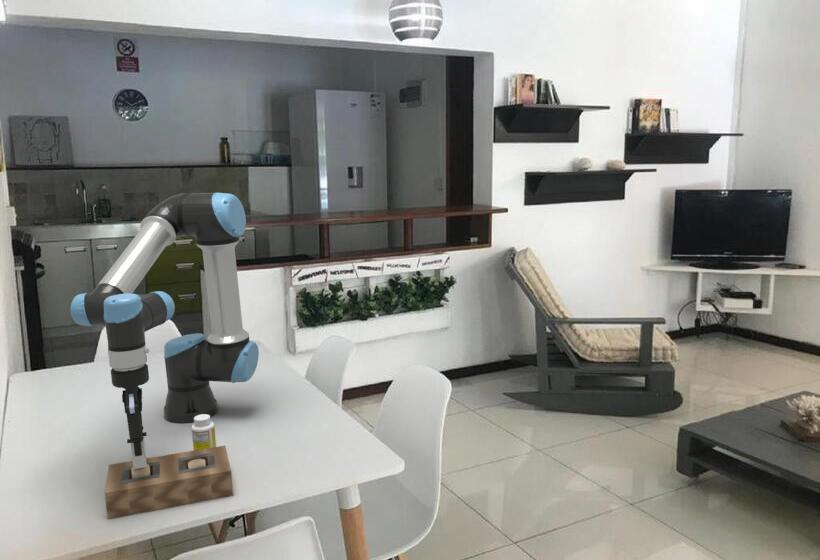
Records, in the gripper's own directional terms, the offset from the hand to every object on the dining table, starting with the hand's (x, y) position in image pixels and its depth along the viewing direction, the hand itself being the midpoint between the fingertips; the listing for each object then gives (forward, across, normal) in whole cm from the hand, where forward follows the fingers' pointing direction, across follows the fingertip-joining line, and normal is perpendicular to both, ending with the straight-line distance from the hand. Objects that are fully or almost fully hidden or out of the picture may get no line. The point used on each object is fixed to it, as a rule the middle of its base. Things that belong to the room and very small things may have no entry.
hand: (140, 466), depth 153 cm
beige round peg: (+6, 0, 0) cm, 6 cm away
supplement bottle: (+8, +17, -14) cm, 24 cm away
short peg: (+7, 0, -12) cm, 14 cm away
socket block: (+7, 0, -6) cm, 10 cm away
